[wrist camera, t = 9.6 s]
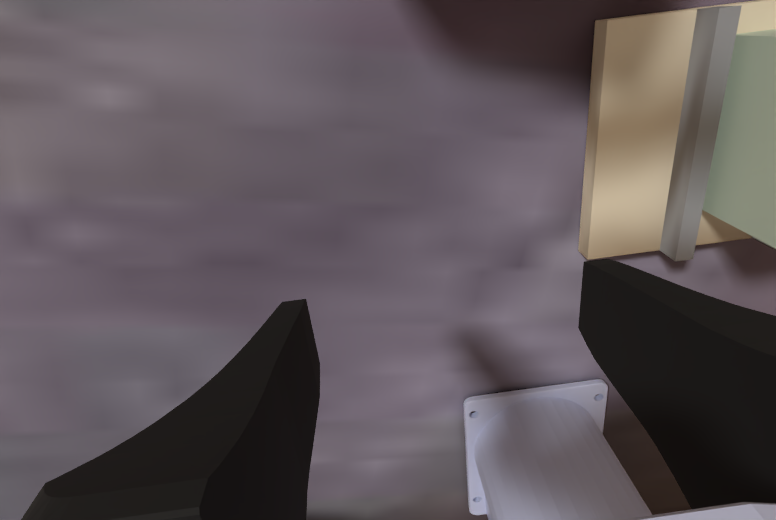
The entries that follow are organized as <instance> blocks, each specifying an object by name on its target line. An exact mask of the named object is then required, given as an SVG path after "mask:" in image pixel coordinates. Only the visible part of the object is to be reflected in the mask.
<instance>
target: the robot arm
mask: <svg viewBox="0 0 776 520" xmlns="http://www.w3.org/2000/svg"><path fill="white" fill-rule="evenodd" d="M579 330H580V332H581V334H582V336H583V338H584V340H585V342H586V344H587V346H588V348H589V350H590V351H591V353H592V355H593V357H594V359H595V360H596V362H597V363H598V365H599V366H600V367H601V369H602V370H603V372H604V373H605V374H606V376H607V377H608V379H609V380H610V381H611V383H612V384H613V386H614V387H615V388H616V390H617V391H618V392H619V394H620V395H621V396H622V398H623V399H624V401H625V402H626V403H627V405H628V406H629V407H630V409H631V410H632V411H633V413H634V414H635V416H636V417H637V418H638V420H639V421H640V422H641V424H642V425H643V426H644V428H645V429H646V431H647V432H648V434H649V435H650V437H651V438H652V440H653V441H654V443H655V444H656V446H657V448H658V450H659V451H660V453H661V455H662V456H663V458H664V460H665V462H666V463H667V465H668V467H669V469H670V470H671V472H672V474H673V475H674V477H675V479H676V481H677V483H678V484H679V486H680V488H681V490H682V492H683V494H684V495H685V497H686V499H687V501H688V503H689V505H690V507H691V508H692V509H691V510H684V511H677V512H670V513H663V514H656V515H652V513H651V512H650V510H649V509H648V507H647V505H646V504H645V502H644V500H643V499H642V497H641V496H640V494H639V492H638V491H637V489H636V487H635V486H634V484H633V483H632V481H631V479H630V478H629V476H628V475H627V473H626V471H625V470H624V468H623V466H622V465H621V463H620V462H619V460H618V458H617V457H616V455H615V454H614V452H613V450H612V449H611V447H610V445H609V444H608V442H607V441H606V439H605V437H604V436H603V427H604V418H605V410H606V402H607V394H608V386H607V384H606V383H605V382H604V380H601V379H595V380H588V381H581V382H574V383H566V384H559V385H552V386H544V387H537V388H530V389H523V390H515V391H508V392H501V393H494V394H486V395H479V396H472V397H468V398H467V399H466V400H465V401H464V404H463V409H464V428H465V447H466V466H467V485H468V504H469V510H470V513H471V514H473V515H482V514H487V516H488V519H489V520H776V316H773V315H770V314H766V313H762V312H759V311H755V310H751V309H748V308H744V307H741V306H738V305H734V304H731V303H728V302H725V301H722V300H719V299H716V298H713V297H710V296H707V295H704V294H702V293H699V292H696V291H693V290H691V289H688V288H685V287H683V286H680V285H677V284H675V283H672V282H670V281H667V280H664V279H662V278H659V277H657V276H654V275H652V274H649V273H647V272H644V271H641V270H639V269H636V268H634V267H631V266H628V265H626V264H623V263H620V262H617V261H613V260H610V259H602V260H595V261H587V262H584V266H583V278H582V291H581V303H580V316H579ZM597 394H599V395H597ZM596 395H597V396H596ZM319 398H320V362H319V357H318V352H317V348H316V343H315V339H314V334H313V329H312V325H311V320H310V315H309V311H308V306H307V302H306V299H302V300H294V301H287V302H282V303H281V304H280V305H279V306H278V308H277V309H276V310H275V311H274V312H273V314H272V315H271V316H270V317H269V318H268V320H267V321H266V322H265V323H264V324H263V326H262V327H261V328H260V329H259V330H258V332H257V333H256V334H255V335H254V336H253V337H252V338H251V340H250V341H249V342H248V343H247V344H246V345H245V346H244V347H243V348H242V349H241V350H240V351H239V353H238V354H237V355H236V356H235V357H234V358H233V359H232V360H231V361H230V362H229V363H228V364H227V365H226V366H225V367H224V368H223V369H222V370H221V371H220V372H219V373H218V374H217V375H215V376H214V377H213V378H212V379H211V380H210V381H209V382H208V383H206V384H205V385H204V386H203V387H202V388H200V389H199V390H198V391H197V392H196V393H195V394H193V395H192V396H191V397H190V398H188V399H187V400H186V401H184V402H183V403H181V404H180V405H179V406H177V407H176V408H175V409H173V410H172V411H170V412H169V413H168V414H166V415H165V416H163V417H162V418H161V419H159V420H158V421H156V422H155V423H154V424H152V425H151V426H149V427H147V428H146V429H144V430H143V431H141V432H139V433H138V434H136V435H135V436H133V437H132V438H130V439H128V440H126V441H125V442H123V443H121V444H120V445H118V446H116V447H115V448H113V449H111V450H109V451H108V452H106V453H104V454H102V455H100V456H99V457H97V458H95V459H93V460H91V461H89V462H87V463H85V464H83V465H81V466H79V467H77V468H75V469H73V470H71V471H69V472H67V473H65V474H63V475H61V476H59V477H58V478H55V479H53V480H51V481H49V482H47V483H45V485H44V486H43V488H42V489H41V490H40V492H39V493H38V495H37V496H36V498H35V499H34V501H33V502H32V504H31V505H30V507H29V509H28V510H27V512H26V513H25V515H24V516H23V518H22V519H21V520H306V511H307V489H308V478H309V470H310V463H311V456H312V449H313V442H314V435H315V428H316V420H317V413H318V406H319ZM473 411H476V412H474V413H471V412H473Z"/></svg>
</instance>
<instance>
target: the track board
mask: <svg viewBox="0 0 776 520" xmlns="http://www.w3.org/2000/svg"><path fill="white" fill-rule="evenodd" d="M772 29H776V0H755V1H747V2H739V3H731V4H723V5H715V6H707V7H699V8H690V9H682V10H674V11H666V12H658V13H650V14H642V15H634V16H626V17H618V18H610V19H602V20H595V31H594V44H593V58H592V71H591V85H590V99H589V112H588V126H587V139H586V153H585V166H584V180H583V194H582V207H581V221H580V234H579V248H578V251H579V252H580V253H581V254H582V255H583V256H584V257H585V258H586V259H587V260H589V259H597V258H604V257H612V256H619V255H627V254H634V253H642V252H649V251H657V250H660V251H661V252H663V253H664V254H666V255H667V256H668V257H670V258H671V259H672V260H674V261H675V262H676V261H683V260H691V259H693V256H694V251H695V246H696V245H702V244H709V243H717V242H724V241H732V240H740V239H747V238H753V239H755V240H757V241H759V242H761V243H763V244H765V245H767V246H768V247H770V248H772V249H773V247H772V246H770V245H768V244H766V243H764V242H762V241H760V240H758V239H756V238H754V237H753V236H751V235H749V234H747V233H745V232H743V231H741V230H739V229H737V228H736V227H734V226H732V225H730V224H728V223H726V222H724V221H722V220H720V219H719V218H717V217H715V216H713V215H711V214H709V213H707V212H705V211H703V210H702V209H703V204H704V199H705V194H706V189H707V183H708V178H709V173H710V168H711V163H712V158H713V152H714V147H715V142H716V137H717V132H718V126H719V121H720V116H721V111H722V106H723V100H724V95H725V90H726V85H727V80H728V75H729V69H730V64H731V59H732V54H733V49H734V43H735V38H736V34H740V33H748V32H756V31H764V30H772Z"/></svg>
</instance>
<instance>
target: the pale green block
mask: <svg viewBox="0 0 776 520" xmlns="http://www.w3.org/2000/svg"><path fill="white" fill-rule="evenodd" d="M702 210H703V211H705V212H707V213H709V214H711V215H713V216H715V217H717V218H719V219H720V220H722V221H724V222H726V223H728V224H730V225H732V226H734V227H736V228H737V229H739V230H741V231H743V232H745V233H747V234H749V235H751V236H753V237H754V238H756V239H758V240H760V241H762V242H764V243H766V244H768V245H770V246H772V247H773V248H775V249H776V29H772V30H764V31H756V32H748V33H740V34H736V38H735V43H734V49H733V54H732V59H731V64H730V69H729V75H728V80H727V85H726V90H725V95H724V100H723V106H722V111H721V116H720V121H719V126H718V132H717V137H716V142H715V147H714V152H713V158H712V163H711V168H710V173H709V178H708V183H707V189H706V194H705V199H704V204H703V209H702Z"/></svg>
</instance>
